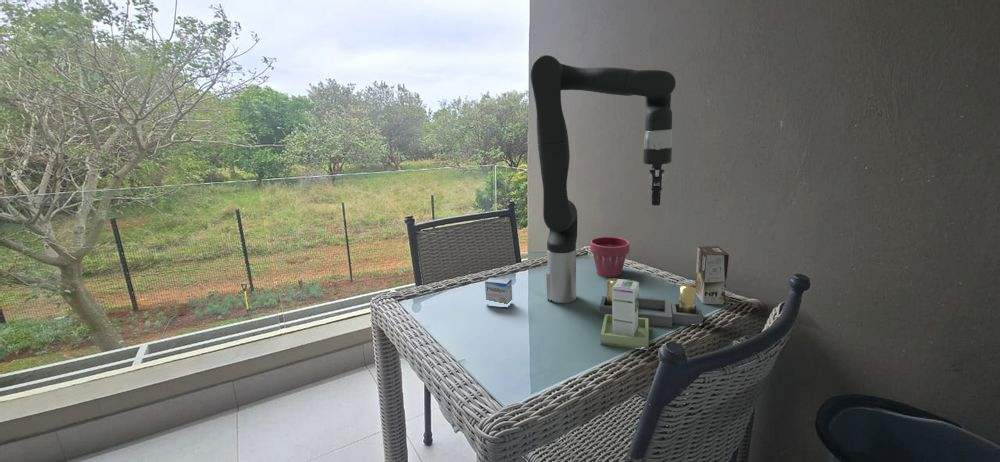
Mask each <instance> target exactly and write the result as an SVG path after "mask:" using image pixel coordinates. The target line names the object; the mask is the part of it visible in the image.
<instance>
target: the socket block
mask: <svg viewBox="0 0 1000 462" xmlns="http://www.w3.org/2000/svg"><path fill="white" fill-rule="evenodd" d="M639 308H644V309H653V310H663V311H664V313H659V312H657V313H656V312H648V311H639V313H638V317H640V318H648V326H649V325H650V326H651V325H652V326H658V327H659V326H660V327H668V328H673V324H676V325H684V326H691V325H690V324H697V323H702V324H703V320H704V317H703V316H704V315H703V312H702V309H701V305H700V304H696V303H695V308H694V314H687V313H679V302H674V301H672V302H671V299H670V298H663V297H649V296H640V295H639ZM605 314H611V315H612V306H607V295H606V296H605V295H603V296H601V301H600V305H599V316H601V317H602V316H603V317H604V316H605Z"/></svg>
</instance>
